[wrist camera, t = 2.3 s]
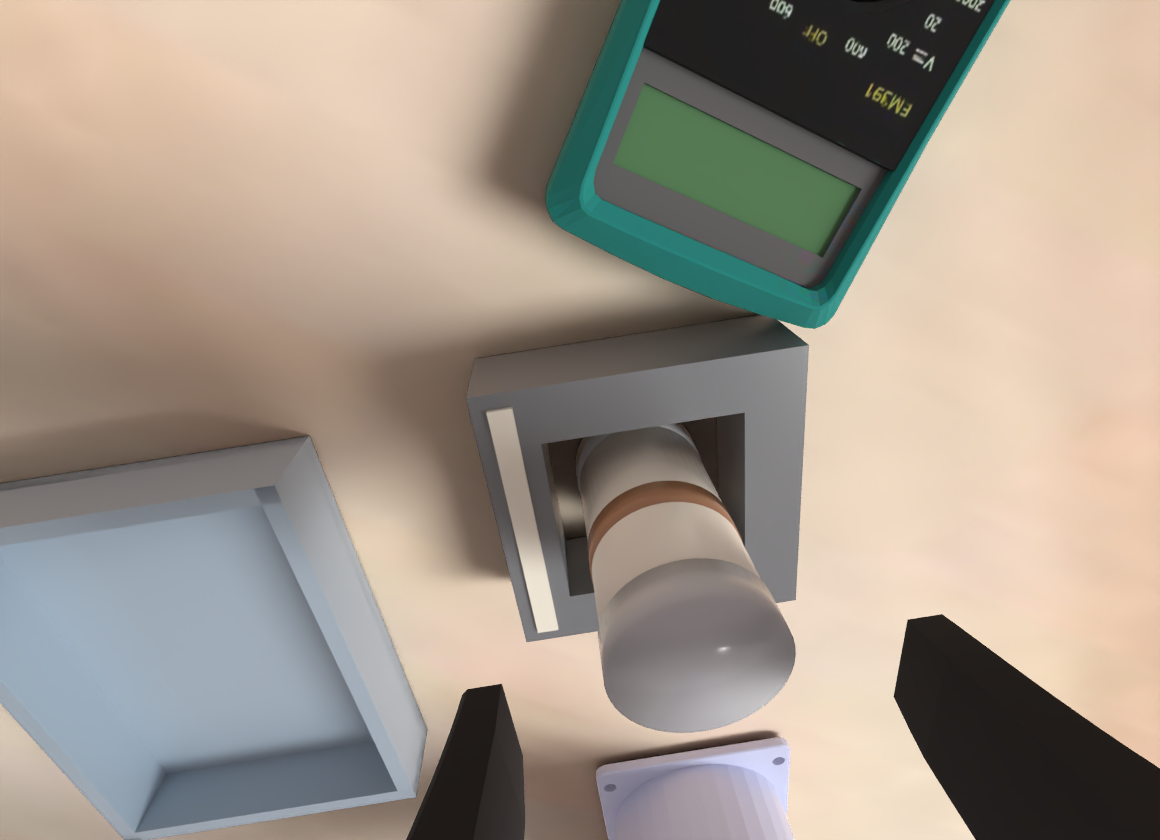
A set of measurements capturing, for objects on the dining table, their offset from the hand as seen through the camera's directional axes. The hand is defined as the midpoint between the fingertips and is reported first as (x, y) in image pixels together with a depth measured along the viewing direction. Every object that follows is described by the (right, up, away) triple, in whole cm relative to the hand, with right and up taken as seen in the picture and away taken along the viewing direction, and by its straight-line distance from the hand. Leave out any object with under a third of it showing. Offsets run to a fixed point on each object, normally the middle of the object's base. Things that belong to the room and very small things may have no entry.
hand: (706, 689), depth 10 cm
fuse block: (-1, +4, +7) cm, 8 cm away
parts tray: (-14, -2, +9) cm, 17 cm away
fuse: (-1, +4, +7) cm, 8 cm away
